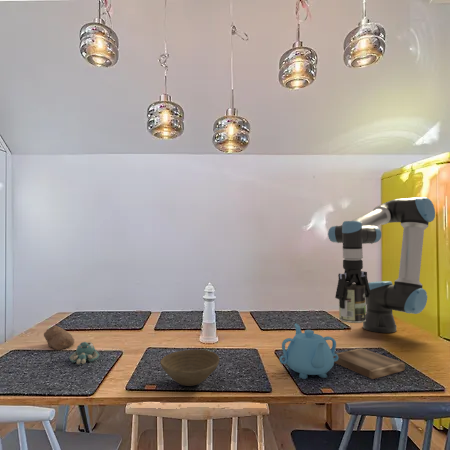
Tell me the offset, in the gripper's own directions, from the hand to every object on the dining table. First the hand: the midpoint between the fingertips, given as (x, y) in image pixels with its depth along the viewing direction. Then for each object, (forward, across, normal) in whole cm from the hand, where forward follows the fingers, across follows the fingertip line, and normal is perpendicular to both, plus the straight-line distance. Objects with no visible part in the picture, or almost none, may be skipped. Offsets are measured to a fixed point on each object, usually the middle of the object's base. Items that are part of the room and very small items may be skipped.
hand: (353, 314), depth 145 cm
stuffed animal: (+12, +97, -39) cm, 105 cm away
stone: (+12, +103, -61) cm, 120 cm away
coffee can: (+3, 0, -1) cm, 3 cm away
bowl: (+13, +71, -1) cm, 72 cm away
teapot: (+14, +32, +9) cm, 36 cm away
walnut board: (+14, +10, +14) cm, 22 cm away
